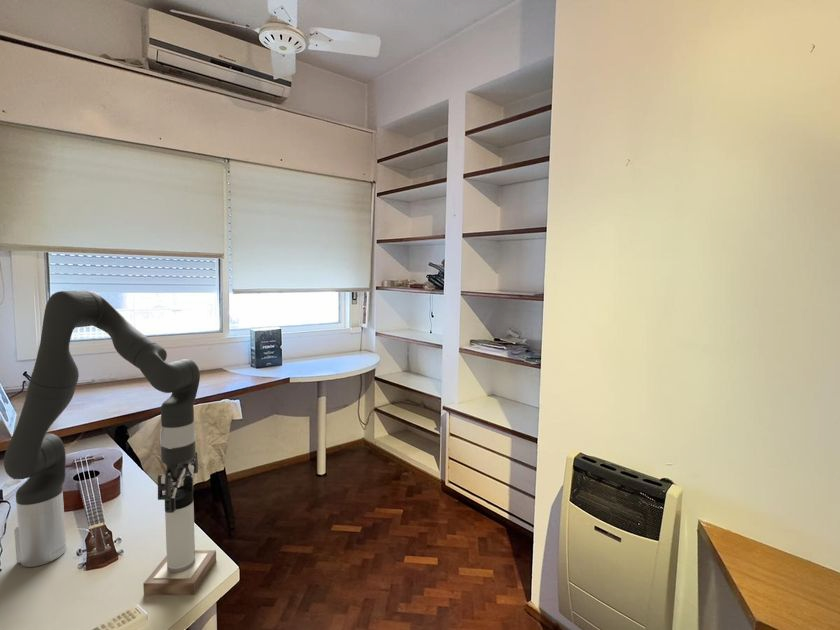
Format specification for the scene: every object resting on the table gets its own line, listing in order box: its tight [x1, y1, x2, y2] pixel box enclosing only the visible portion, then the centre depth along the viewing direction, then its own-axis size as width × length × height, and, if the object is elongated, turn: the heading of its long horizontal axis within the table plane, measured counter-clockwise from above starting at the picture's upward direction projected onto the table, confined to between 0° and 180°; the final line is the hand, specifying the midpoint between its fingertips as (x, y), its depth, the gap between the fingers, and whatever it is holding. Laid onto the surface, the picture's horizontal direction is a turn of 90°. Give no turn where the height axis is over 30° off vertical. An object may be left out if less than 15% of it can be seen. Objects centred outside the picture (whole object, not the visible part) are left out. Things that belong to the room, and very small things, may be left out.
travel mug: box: [164, 484, 196, 573], centre depth 106 cm, size 6×7×20 cm
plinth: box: [142, 549, 217, 596], centre depth 107 cm, size 12×12×3 cm
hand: (179, 502), depth 105 cm, fingers open, 8 cm apart
